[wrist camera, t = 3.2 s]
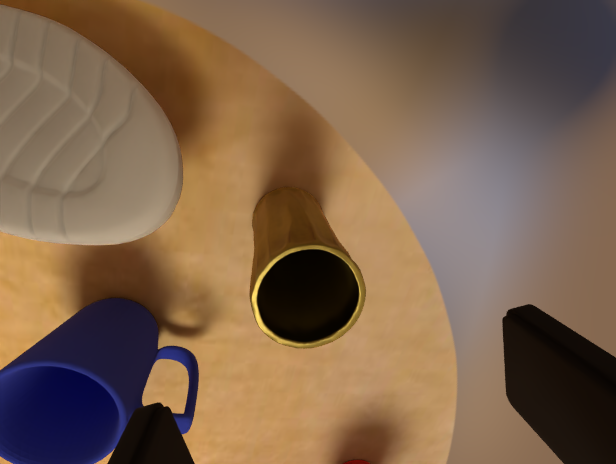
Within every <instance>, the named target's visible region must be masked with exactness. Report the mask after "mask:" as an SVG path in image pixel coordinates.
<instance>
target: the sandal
mask: <svg viewBox="0 0 616 464" xmlns="http://www.w3.org/2000/svg"><path fill="white" fill-rule="evenodd" d="M182 185H183V165H182V156H181V150H180V146H179V143H178V140H177V136H176V134H175V132H174V129H173V127H172V125H171V123H170V121H169V120H168V118H167V116H166V114H165V113H164V111H163V110H162V108H161V107H160V105H159V104H158V103H157V102H156V100H155V99H154V98H153V96H152V95H151V94H150V93H149V92H148V91H147V89H146V88H145V87H144V86H143V85H142V84H141V83H140V82H139V81H138V80H137V79H136V78H135V77H134V76H133V75H132V74H131V73H130V72H129V71H128V70H127V69H126V68H125V67H124V66H122V65H121V64H120V63H119V62H118V61H117V60H115V59H114V58H113V57H112V56H111V55H109V54H108V53H107V52H106V51H104V50H103V49H101V48H100V47H99V46H97V45H96V44H94V43H93V42H91V41H90V40H88V39H87V38H85V37H84V36H82V35H80V34H79V33H77V32H75V31H74V30H72V29H71V28H69V27H67V26H65V25H63V24H61V23H58V22H56V21H54V20H51V19H49V18H46V17H44V16H41V15H37V14H34V13H31V12H28V11H24V10H21V9H17V8H13V7H9V6H5V5H0V231H1V232H4V233H7V234H11V235H14V236H18V237H23V238H27V239H32V240H38V241H44V242H51V243H61V244H76V245H114V244H121V243H127V242H131V241H134V240H137V239H140V238H142V237H145V236H147V235H149V234H151V233H152V232H154V231H155V230H157V229H158V228H159V227H161V226H162V225H163V224H164V223H165V222H166V221H167V220H168V219H169V217H170V216H171V215H172V213H173V211H174V209H175V207H176V205H177V203H178V200H179V198H180V194H181V190H182Z"/></svg>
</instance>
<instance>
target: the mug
mask: <svg viewBox="0 0 616 464" xmlns="http://www.w3.org/2000/svg"><path fill="white" fill-rule="evenodd" d="M158 336H159V333H158V327H157V323H156V321H155V319H154V317H153V316H152V314H151V313H150V312H149V311H148V310H147V309H146V308H144V307H143V306H142V305H140V304H138V303H136V302H134V301H131V300H127V299H122V298H108V299H103V300H100V301H97V302H94V303H92V304H90V305H88V306H86V307H85V308H83V309H82V310H80V311H79V312H78V313H76V314H75V315H74V316H72V317H71V318H70V319H68V320H67V321H66V322H64V323H63V324H62V325H60V326H59V327H58V328H56V329H55V330H54V331H52V332H51V333H50V334H48V335H47V336H46V337H44V338H43V339H42V340H40V341H39V342H38V343H36V344H35V345H34V346H32V347H31V348H30V349H28V350H27V351H26V352H24V353H23V354H22V355H20V356H19V357H18V358H16V359H15V360H13V361H12V362H11V363H9V364H8V365H7V366H5V367H4V368H3V369H1V370H0V456H1V457H2V458H4V459H5V460H7V461H9V462H11V463H13V464H94V463H97V462H98V461H100V460H102V459H103V458H104V457H106V456H107V455H108V454H110V453H111V452H112V451H113V450H114V449H115V448H116V446H117V444H118V442H119V440H120V438H121V436H122V434H123V432H124V430H125V428H126V426H127V424H128V422H129V420H130V418H131V416H132V414H133V412H134V411H135V409H137V408H139V407H143V404H142V395H143V391H144V388H145V385H146V382H147V379H148V377H149V374H150V372H151V369H152V367H153V365H154V363H155V362H156V361H157V360H159V359H172V360H176V361H178V362H180V363H182V364H183V365H184V366H185V367H186V368H187V371H188V375H189V389H188V396H187V402H186V407H185V412H184V414H177V413H172V414H173V416H174V418H175V421H176V423H177V425H178V428H179V430H180V432H181V434H185V433H187V432H188V431H189V429H190V427H191V425H192V421H193V417H194V412H195V405H196V399H197V391H198V381H199V371H198V364H197V360H196V358H195V356H194V355H193V354H192V353H191V352H190V351H189V350H187V349H185V348H183V347H179V346H165V347H163V348H161V349H158Z"/></svg>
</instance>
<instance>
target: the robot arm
mask: <svg viewBox="0 0 616 464" xmlns="http://www.w3.org/2000/svg"><path fill="white" fill-rule="evenodd" d="M503 342H504V362H505V381H506V395H507V397H508V400H509V402H510V403H511V405H512V406H513V408H514V409H515V410H516V411H517V412H518V413H519V414H520V415H521V416H522V417H523V419H524V420H525V421H526V422H527V423H528V424H529V425H530V426H531V428H532V429H533V430H534V431H535V432H536V433H537V434H538V435H539V436H540V438H541V439H542V440H543V441H544V442H545V443H546V444H547V445H548V446H549V448H550V449H551V450H552V451H553V452H554V453H555V454H556V455H557V456H558V458H559V459H560V460H561V461H562V462H563V463H564V464H616V358H615V357H614V356H612V355H611V354H609V353H608V352H606V351H604V350H603V349H601V348H600V347H598V346H597V345H595V344H594V343H592V342H590V341H589V340H587V339H586V338H584V337H582V336H581V335H579V334H578V333H576V332H574V331H573V330H571V329H570V328H568V327H567V326H565V325H563V324H562V323H561V322H559V321H557V320H556V319H554V318H553V317H551V316H550V315H548V314H546V313H545V312H543V311H541V310H540V309H539V308H537V307H535V306H533V305H530V304H528V305H524V306H520V307H517V308H513V309H510V310H508V312H507V315H506V316H505V317H503ZM108 464H194V461H193V459H192V457H191V455H190V452H189V450H188V448H187V446H186V443H185V441H184V439H183V437H182V434H181V432H180V430H179V428H178V425H177V423H176V421H175V418H174V416H173V414H172V412H171V410H170V408H169V407H168V406H166V407H164V406H163V405H162V404H161V403H154V404H151V405H147V406H143V407H139V408H137V409H135V411H134V412H133V414H132V416H131V418H130V420H129V422H128V424H127V426H126V428H125V430H124V432H123V434H122V436H121V438H120V440H119V442H118V444H117V446H116V448H115V450H114V452H113V454H112V456H111V458H110V460H109V462H108Z"/></svg>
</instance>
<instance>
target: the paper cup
mask: <svg viewBox="0 0 616 464" xmlns="http://www.w3.org/2000/svg"><path fill="white" fill-rule="evenodd" d="M343 464H370V463H369V462H367V461H364V460H351V461H348V462H345V463H343Z"/></svg>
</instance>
